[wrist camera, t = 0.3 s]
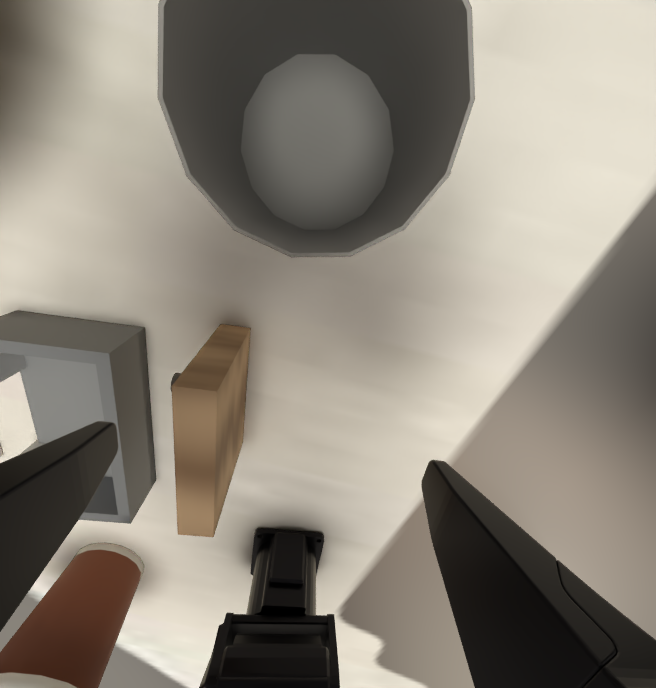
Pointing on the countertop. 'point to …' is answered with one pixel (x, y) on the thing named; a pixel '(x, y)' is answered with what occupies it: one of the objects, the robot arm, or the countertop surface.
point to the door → (209, 427)
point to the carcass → (87, 396)
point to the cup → (316, 112)
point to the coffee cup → (74, 622)
